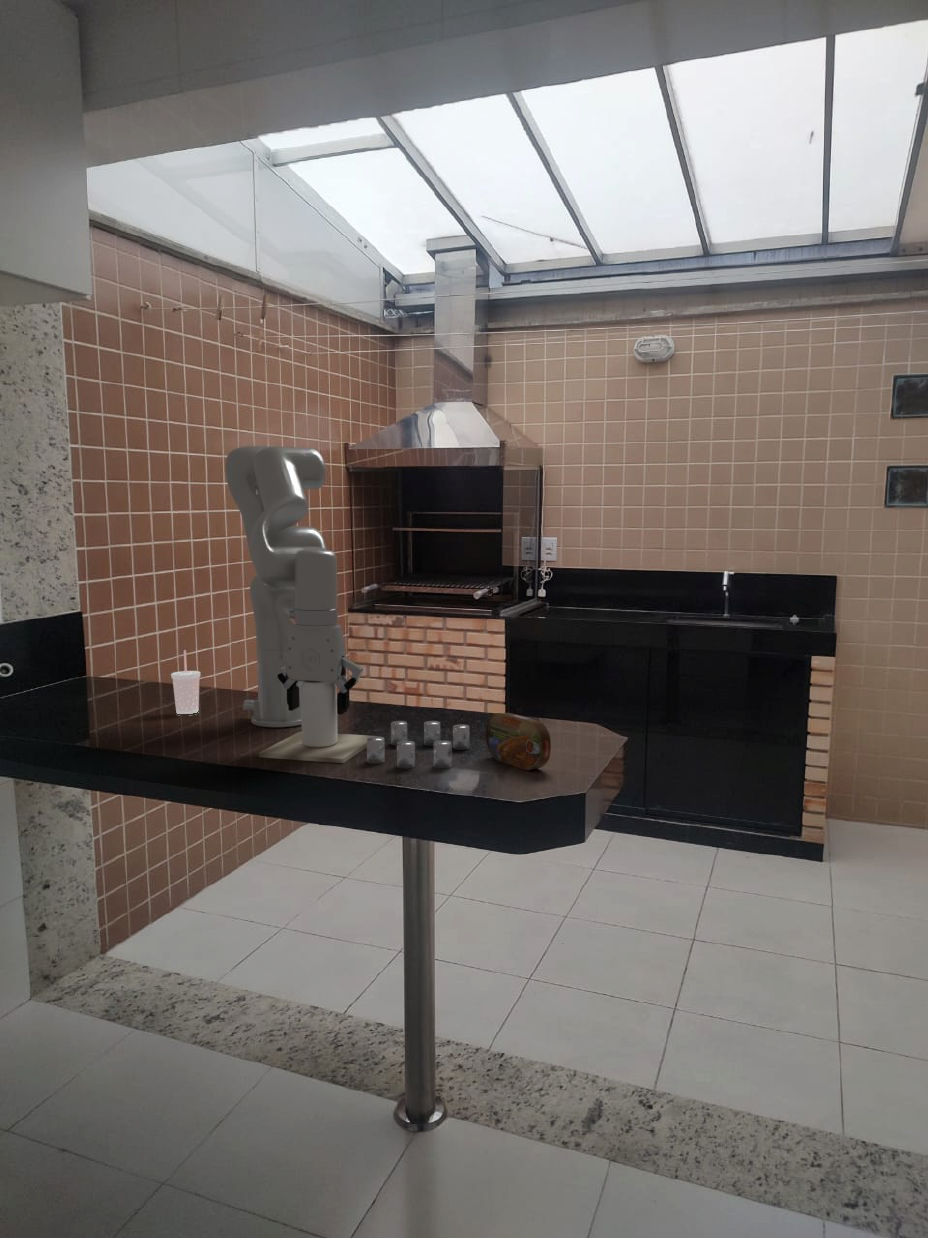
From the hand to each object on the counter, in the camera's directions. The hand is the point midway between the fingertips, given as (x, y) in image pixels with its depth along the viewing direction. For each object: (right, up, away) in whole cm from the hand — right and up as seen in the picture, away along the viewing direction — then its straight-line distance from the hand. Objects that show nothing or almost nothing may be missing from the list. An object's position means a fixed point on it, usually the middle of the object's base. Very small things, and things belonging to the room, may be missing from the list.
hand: (318, 710), depth 149 cm
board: (0, -7, 0) cm, 7 cm away
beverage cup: (-34, -4, +30) cm, 45 cm away
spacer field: (+19, -7, -4) cm, 21 cm away
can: (0, -6, 0) cm, 6 cm away
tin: (+36, -8, -10) cm, 38 cm away
